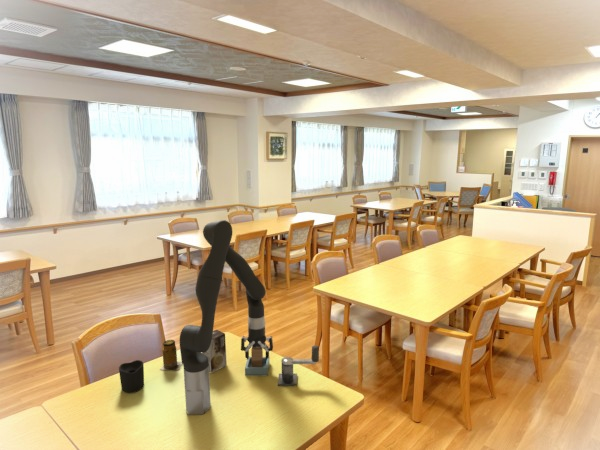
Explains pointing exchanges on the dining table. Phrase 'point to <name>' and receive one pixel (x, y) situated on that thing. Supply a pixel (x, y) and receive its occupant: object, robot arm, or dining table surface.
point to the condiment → (170, 356)
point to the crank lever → (290, 361)
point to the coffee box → (216, 351)
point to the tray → (257, 368)
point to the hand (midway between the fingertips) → (257, 358)
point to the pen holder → (132, 376)
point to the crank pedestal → (287, 377)
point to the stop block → (257, 356)
